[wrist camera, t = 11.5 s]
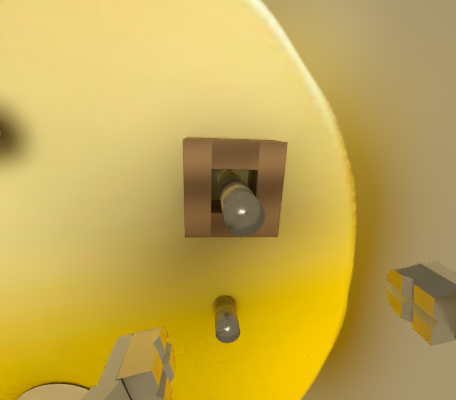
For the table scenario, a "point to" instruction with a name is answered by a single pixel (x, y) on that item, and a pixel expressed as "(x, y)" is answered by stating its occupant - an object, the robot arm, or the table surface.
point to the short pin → (226, 319)
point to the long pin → (239, 204)
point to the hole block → (231, 159)
